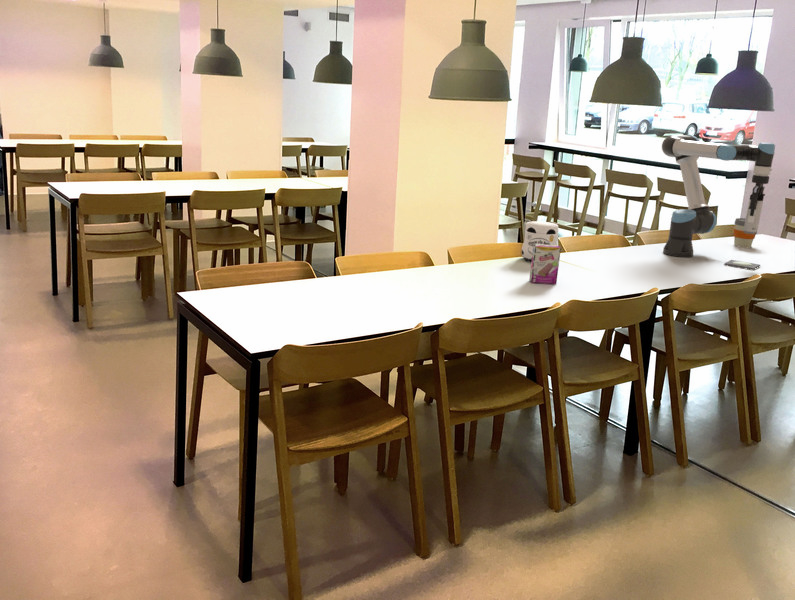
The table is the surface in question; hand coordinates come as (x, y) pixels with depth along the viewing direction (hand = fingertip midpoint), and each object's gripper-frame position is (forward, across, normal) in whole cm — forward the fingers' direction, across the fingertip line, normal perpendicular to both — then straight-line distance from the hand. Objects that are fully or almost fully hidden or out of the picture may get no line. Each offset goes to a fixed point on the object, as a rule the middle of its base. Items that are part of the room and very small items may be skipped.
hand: (752, 221), depth 381 cm
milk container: (+23, -75, +77) cm, 110 cm away
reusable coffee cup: (+23, +58, +14) cm, 64 cm away
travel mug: (+6, 0, 0) cm, 6 cm away
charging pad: (+23, -2, 0) cm, 23 cm away
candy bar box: (+23, -114, +55) cm, 129 cm away
